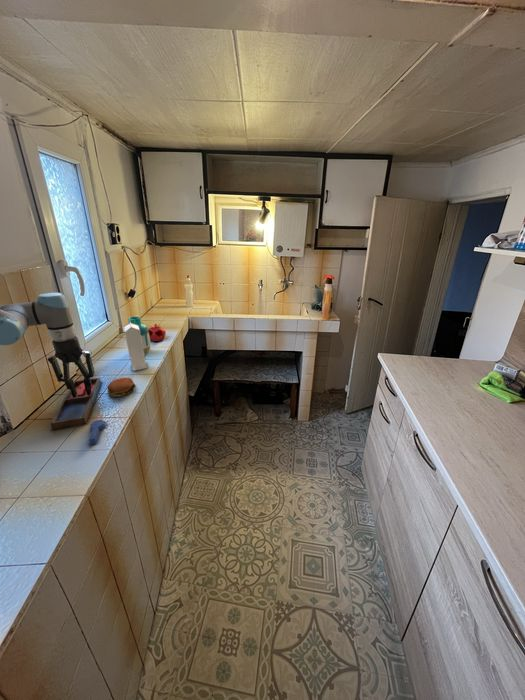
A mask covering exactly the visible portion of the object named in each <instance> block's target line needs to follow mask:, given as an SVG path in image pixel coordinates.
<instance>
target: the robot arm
mask: <svg viewBox="0 0 525 700" xmlns="http://www.w3.org/2000/svg"><path fill="white" fill-rule="evenodd" d="M36 298H37V299H36V301H29V302H28V301H27V302H18V303H4V304H0V305H1V307H0V346H10V345H13V344H15V343H17V342H18V341H20V339H21V338H23V337H24V335H25V334H26V333H25V332H26V331H27V329H28V328H29V327H32V326H34V327H35V326H41V325H45V326H46V328H47V331H48V334H49V337H50V340H51V344H52V346H53V349H54V354H51V355H49V357H48V358H47V362H48V363H49V364H50V365H51V367H52V370H53V372H54V375H55V377H56V380H57V382H58V383H62V382H63V383H64V384H65V387H66V389H67V390H69V389H70V390H71V393H72V396H73V398H74V397H76V395H77V392H76V388H75V385H74V382H73V381H74V379H73V378H71V375H70V363H73V364H74V365H75V366H76V367H77V368H78V370H79V371H80V373H81V375H82V376H83V379H82V380H83V382H84V385H85V389H86V392H87V395H90V393H91V389H90V386H91V384H92V382H91V379H92V378H94V376H95V374H96V372H95V368H94V364H93V359H92V350H88V351H86V350H83V349H82V347H81V343H80V342H79V338H78V335H77V331H76V327H75V325H74V324H75V323H74V322H73V317H72V315H71V310H70V307H69V304H68V301H67V299H66V296H65V295H64V294H63V293H62V292H47V293H41V294H39V295H37V297H36ZM82 356H83V357H84V358H85V362H86V363H85V364H86V365H85V364H84V362H83V361H82V358H81V357H82ZM58 360H60V361H61V362H62V369H61V366H60V363H59V362H58ZM86 367H87V368H86ZM62 370H63V372H62Z"/></svg>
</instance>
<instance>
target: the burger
mask: <svg viewBox="0 0 525 700" xmlns="http://www.w3.org/2000/svg"><path fill="white" fill-rule="evenodd" d="M136 387H137V386H136V384H135V382H134V380H133V379H132V378H131V377H120V378H117V379H114V380H112V381H110V382H109V384H108V385H107V394H108V395H109V396H110V397H112V398H119V397H122V396H126V395H129V394H131V392H133V391H134V390H135V389H136Z"/></svg>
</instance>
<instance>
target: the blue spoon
mask: <svg viewBox="0 0 525 700" xmlns="http://www.w3.org/2000/svg"><path fill="white" fill-rule="evenodd" d="M89 426H90V429H91V432H90V435H89V438H88V441H89V445H95V444H97V442H98V439H99V436H100V431H102V430H103V429H104V428H105V427H106V423H105V420H103V419H97V420H94V421H92V422H91V423H90V425H89Z"/></svg>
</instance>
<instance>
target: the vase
mask: <svg viewBox="0 0 525 700" xmlns="http://www.w3.org/2000/svg"><path fill="white" fill-rule="evenodd" d="M127 321H128V324H130V323H132V324H135V325H137V326H138V327H139V330H140V335H141V340H142V345H143V351H144V355H146V354H148V353H149V352H150V350H151V340H150V336H149V332H148V329H149V328H148V326H147V324H146V323H144V322H143V321H142V319H141V317H140V316H139V315H133V316H130V317H128V319H127Z"/></svg>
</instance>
